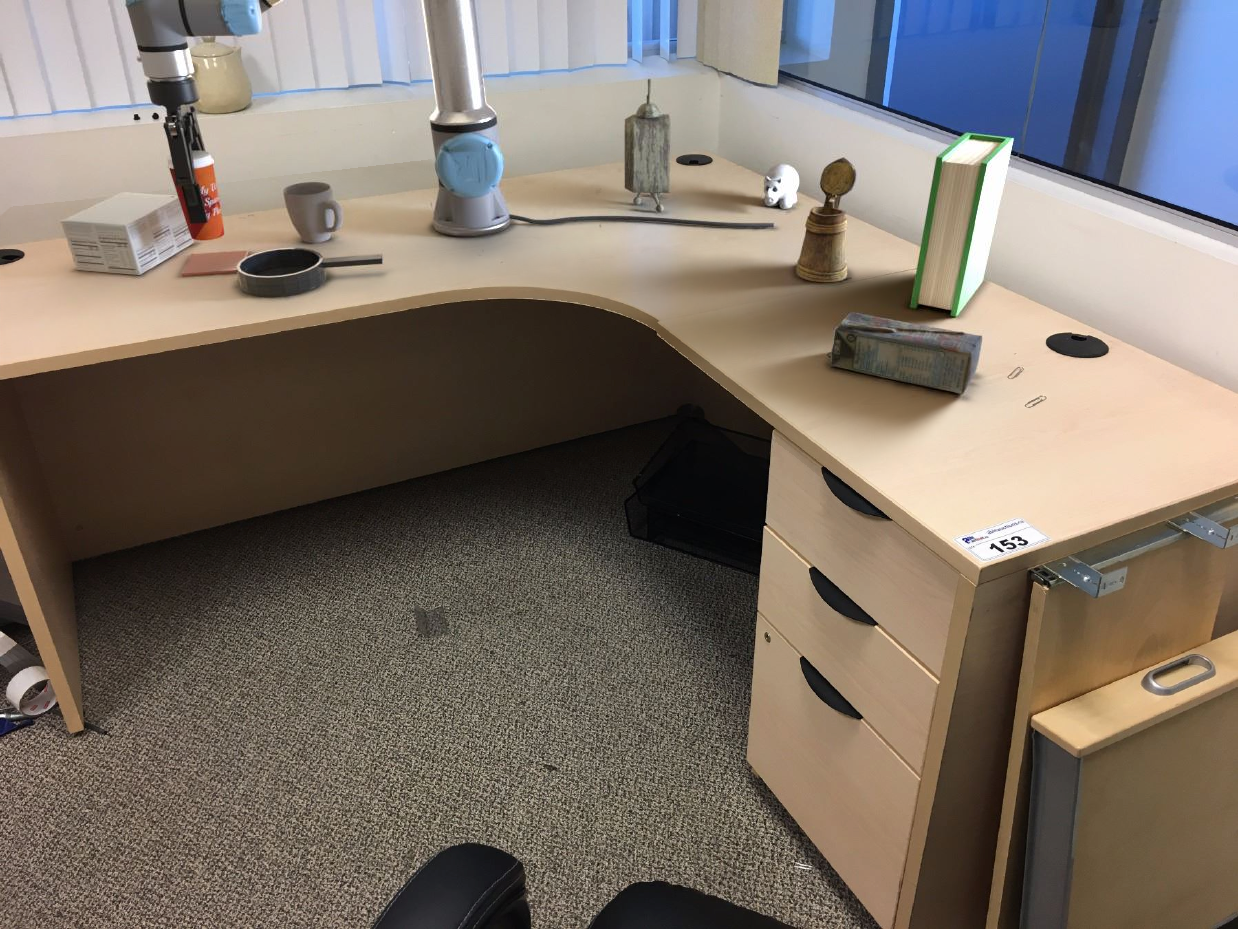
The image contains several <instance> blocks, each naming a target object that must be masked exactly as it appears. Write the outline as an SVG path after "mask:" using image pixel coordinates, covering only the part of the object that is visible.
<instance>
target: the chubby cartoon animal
mask: <svg viewBox="0 0 1238 929" xmlns="http://www.w3.org/2000/svg"><path fill="white" fill-rule="evenodd" d="M799 185H800V177H799V174H798V172H797V170H796V169H795V168H794V167H792V166H791V165H789V164H785V163H780V164H776V165H774V166H771V168H770V169H769V170H767V172H766V174H765V176H764V179H763V193H764V205H765V206H767V207H775V206H777V204H779V208H780V209H783V210H787V209H792V207H793V205H795V204H797V202H798V199H797V198H798V197H797V193H796V192H797V191H798V189H799Z"/></svg>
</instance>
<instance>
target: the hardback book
mask: <svg viewBox="0 0 1238 929" xmlns="http://www.w3.org/2000/svg"><path fill="white" fill-rule="evenodd" d="M1014 140H1015V139H1014V137H1007V136H999V135H998V136H997V135H989V134H982V133H981V134H980V133H973V132H965V133H964V134H962V135H961V136H960V137H959V138H958V139H956V140H955V141H954V142H953V143H952V144H950V146H947V148H946V149H944V150H943V151H942V152H941V153H939V154H938V155H936V158H935V162H934V163H935V164H934V169H933V175H932V180H931V184H930V185H931V186H930V192H929V196H928V202H927V208H926V214H925V220H924V224H923V231H922V237H921V243H920V248H919V255H918V260H917V265H916V272H915V277H914V282H913V287H912V288H913V289H912V293H911V300H910V304H909V308H911V309H917V308H918V307H919V306H920V305H923V306H928V307H934V308H938V309H943V310H948V311H951V312H950V314H949V316H950V317H954V318H957V317H958V315H959V314H960V313H961V311H962V310H963V308H964V307H965V306H966V304H967V303H968V302H969V301H970V299H971V298H972V296H973V295H974V294H975V293H976V291H977V290H978V289H979V287H980V286H981V285H982V283H983V281H984V278H985V277H984V276H985V273H986V272H985V271H986V267H987V263H988V259H989V253H990V249H991V244H992V240H993V236H994V230H995V225H996V222H997V217H998V211H999V207H1000V203H1001V199H1002V194H1003V189H1004V185H1005V181H1006V180H1005V179H1006V175H1007V170H1008V166H1009V161H1010V157H1011V152H1012V148H1013V143H1014Z"/></svg>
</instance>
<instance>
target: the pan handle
mask: <svg viewBox="0 0 1238 929" xmlns="http://www.w3.org/2000/svg"><path fill="white" fill-rule="evenodd" d="M383 260H384V258H383V254H382V253H378V254H363V255H350V256H349V255H348V256H334V257H323V268H325V269H330V268H344V267H345V268H346V267H359V266H361V267H362V266H373V265H375V266H376V265H383V262H384V261H383Z"/></svg>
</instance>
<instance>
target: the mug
mask: <svg viewBox="0 0 1238 929" xmlns="http://www.w3.org/2000/svg"><path fill="white" fill-rule="evenodd" d="M282 192H283V199H284V203H285V207H286V210H287V214H288V216H289V219H290V221H291V223H292V225H293V227H294V229H295V230H296V232H297V234H299V237H300V238H301V241H303V242H304V243H308V244H317V243H322V242H326V241H328V240H330V239H331V234H332V233H335V232H337V231H339V230H340V229H341V228H342V225H343V220H344V215H343V210H342V207H341V205H340V204H339V202H338V201H336V200H334V194H333V189H332V186H331V184H329V183H326V182H319V181H307V182H298V183H294V184H291V185H288V186H286V187H285V188H284V189H283V191H282Z"/></svg>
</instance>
